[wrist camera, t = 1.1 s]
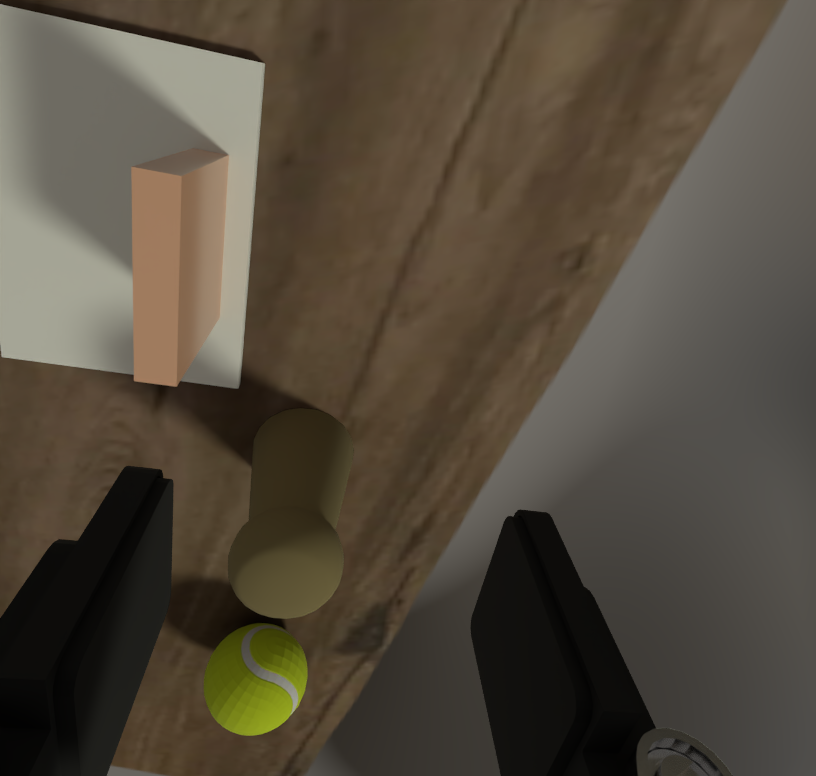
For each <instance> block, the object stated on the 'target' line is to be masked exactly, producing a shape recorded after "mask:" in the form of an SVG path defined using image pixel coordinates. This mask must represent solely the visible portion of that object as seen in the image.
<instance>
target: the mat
mask: <svg viewBox="0 0 816 776" xmlns="http://www.w3.org/2000/svg"><path fill="white" fill-rule="evenodd" d="M264 71H265V64H264V63H261V62H256V61H252V60H247V59H243V58H238V57H234V56H229V55H225V54H220V53H216V52H212V51H207V50H203V49H198V48H194V47H189V46H185V45H180V44H176V43H171V42H167V41H162V40H158V39H154V38H149V37H145V36H140V35H136V34H131V33H127V32H122V31H118V30H113V29H109V28H104V27H100V26H96V25H91V24H87V23H82V22H78V21H73V20H69V19H64V18H60V17H55V16H51V15H46V14H42V13H38V12H33V11H29V10H24V9H20V8H15V7H11V6H6V5H2V4H0V346H1V354H2V357H6V358H14V359H21V360H29V361H36V362H43V363H51V364H58V365H66V366H73V367H80V368H88V369H95V370H102V371H110V372H117V373H125V374H132V375H134V343H133V262H132V181H131V167H132V166H135V165H138V164H142V163H145V162H148V161H151V160H155V159H158V158H161V157H165V156H168V155H171V154H175V153H178V152H181V151H185V150H188V149H191V148H196V149H201V150H206V151H211V152H216V153H221V154H226V155H229V165H228V183H227V200H226V218H225V235H224V253H223V270H222V288H221V306H220V318H219V320H218V321H217V323H216V325H215V326H214V328H213V329H212V331H211V333H210V334H209V336H208V337H207V339H206V341H205V342H204V344H203V345H202V347H201V349H200V350H199V352H198V353H197V355H196V357H195V358H194V360H193V361H192V363H191V365H190V366H189V368H188V369H187V371H186V373H185V374H184V376H183V377H182V379H181V381H184V382H191V383H198V384H206V385H213V386H221V387H228V388H235V389H238V388H239V386H240V381H241V368H242V355H243V342H244V329H245V317H246V304H247V291H248V278H249V265H250V252H251V239H252V226H253V213H254V200H255V188H256V175H257V162H258V149H259V136H260V123H261V110H262V97H263V84H264Z"/></svg>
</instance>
